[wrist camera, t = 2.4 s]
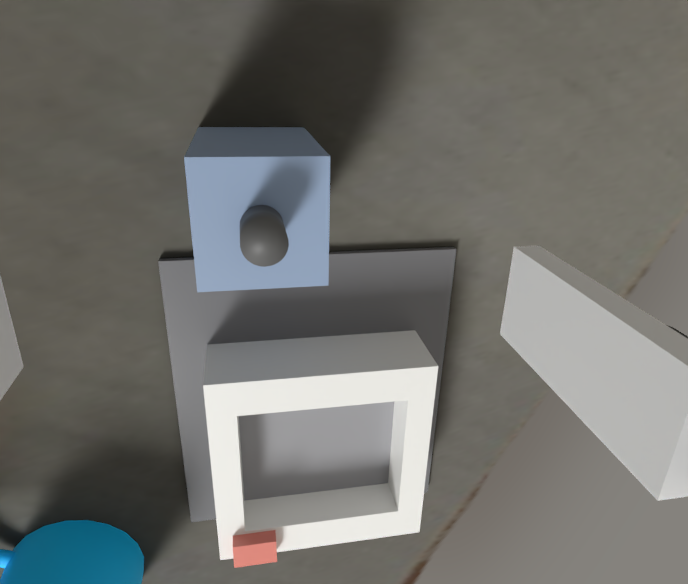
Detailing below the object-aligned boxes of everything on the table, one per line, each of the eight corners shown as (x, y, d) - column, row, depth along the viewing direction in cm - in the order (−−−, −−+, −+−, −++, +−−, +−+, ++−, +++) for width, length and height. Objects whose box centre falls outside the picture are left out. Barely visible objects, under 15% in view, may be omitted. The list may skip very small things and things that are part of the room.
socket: (159, 258, 27) (143, 301, 23) (453, 246, 30) (493, 282, 25) (191, 517, 35) (185, 589, 30) (425, 488, 37) (452, 550, 33)
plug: (198, 127, 25) (178, 169, 16) (303, 127, 26) (340, 167, 17) (207, 228, 27) (193, 315, 18) (304, 225, 28) (337, 307, 19)
